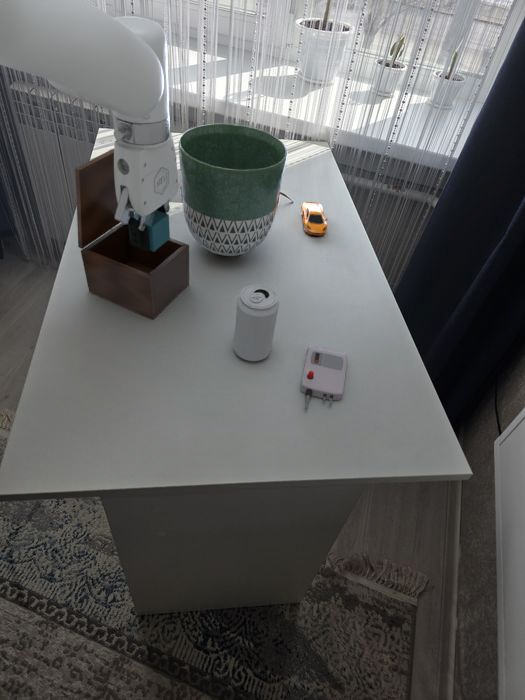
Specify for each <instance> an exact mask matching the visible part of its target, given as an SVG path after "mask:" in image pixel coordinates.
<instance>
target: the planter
mask: <svg viewBox="0 0 525 700" xmlns="http://www.w3.org/2000/svg"><path fill="white" fill-rule="evenodd" d="M178 158H179V172H180V185H181V187H180V188H181V197H182V208H183V209H182V210H183V215H184V219H185V222H186V223H185V224H186V226H187V228H188V230H189V232H190V234H191V236H192V237H193V238H194V240H195V242H197V243H198V244H199V245H200V246H201V247H203V248H204V249H205V250H207V251H209V252H211V253H212V254H215V255H219V256H223V257H224V256H225V257H236V256H241V255H244V254H247V253H249V252H251V251H253V250H255V249H256V248H257V247H258V246H260V244H262V243H263V241H265V239H266V237H267V236H268V234H269V232H270V230H271V228H272V226H273V223H274V219H275V217H276V212H277V208H278V203H279V198H280V194H281V187H282V183H283V178H284V174H285V170H286V165H287V160H288V159H287V158H288V148H287V147H286V145H285V144H284V142H283V141H281V139H279V138H278V137H276V136H275V135H273V134H271V133H270V132H267V131H265V130H262V129H258V128H256V127H251V126H248V125H242V124H236V123H235V124H233V123H210V124H203V125H198V126H194V127H192V128H190V129H188V130H186V131H184V132H183V133H182V134H181V135H180V137H179V138H178Z"/></svg>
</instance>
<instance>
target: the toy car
mask: <svg viewBox="0 0 525 700" xmlns="http://www.w3.org/2000/svg"><path fill="white" fill-rule="evenodd" d="M300 209H301V211H300V212H301V213H300V215H301V216H302V223H303V231H304V232H305V233H307V234H308V235H310V236H317V237H322V236H324V235H325V234H326V233H327V231H328V223H327V222H326V221H328V220H329V219H328V217H326V218H325V213H324V207H323V205H322V204H320V203H319V202H312V201H304V202H303V203H302V205H301V208H300Z"/></svg>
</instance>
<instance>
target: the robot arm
mask: <svg viewBox="0 0 525 700" xmlns="http://www.w3.org/2000/svg"><path fill="white" fill-rule="evenodd" d="M167 41H168V40H167V35H166V33H165V30H164V29H163V26H161V25H160V23H158V22H156V21H154V20H152V19H150V18H146V17H142V16H141V17H140V16H131V15H130V16H126V15H125V16H117V17H113V16H112V15H110V14H109V13H107V12H105V11H104V10H102V9H101V8H99V7H97V6H96V5H94V4H92V3H91V2H89V1H87V0H0V66H3V67H6V68H9V69H12V70H15V71H19V72H23V73H26V74H29V75H32V76H36V77H39V78H43V79H45V80H46V81H47V82H48V83H49V84H50V85H51V86H52V87H53V88H55V89H56V90H58V91H59V92H60V93H62V94H65V95H67V96H69V97H72V98H75V99H77V100H80V101H83V102H86V103H88V104H91V105H96V106H98V107H101V108H104V109H106V110H109V111H111V114H112V122H113V123H112V124H113V136H114V138H115V140H114V145H113V148H114V179H115V190H116V197H117V202H118V207H117V210H116V214H115V220H117V221H119V222H121V223H125V224H126V225H127V226H129V227H130V236H131V244H132V245H133V246H135V247H137V248H140V249H142V250H145V251H148V250H149V249H150V247H149V234H148V228H145V224H146V216H147V215H149V214H151V213H152V212H153V211H155V210H158V211H160V212H163V213H166V214H169V212H170V209H171V207H170V201H171V200H172V199H173V198H174V197H175V196H176V195H178V194H177V193H178V192H179V174H178V173H179V172H178V162H177V153H176V147H175V142H174V138H173V134H172V131H171V128H170V100H169V99H170V98H169V69H168V68H169V67H168V42H167ZM134 213H136V214H139V219H138V220H137V219H135V218H134Z"/></svg>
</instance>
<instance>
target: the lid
mask: <svg viewBox="0 0 525 700" xmlns="http://www.w3.org/2000/svg"><path fill="white" fill-rule="evenodd" d="M74 170H75V172H74V173H75V174H74V175H75V196H76V197H75V199H76V201H75V202H76V222H77V223H76V224H77V247H78V248H79V249H81V250H82V249H84V248H85V247H87V246H88V245H90V244H91V243H93V242H94V241H96V240H97V239H98V238H100V237H101V236H103V235H104V234H106V233H107V232H109V231H110V230H111V229H113V228H114V227H116V226H117V225H119V224H120V223H122V222H119V221H117V220H115V214H116V210H117V207H118V202H117V197H116V190H115V179H114V147H113V148H111V149H109V150H107V151H105V152H103V153H102V154H99V155H98V156H96V157H94V158H92V159H90V160H88V161H86V162H84V163H82V164H81V165H79V166H76V167H75V169H74Z"/></svg>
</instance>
